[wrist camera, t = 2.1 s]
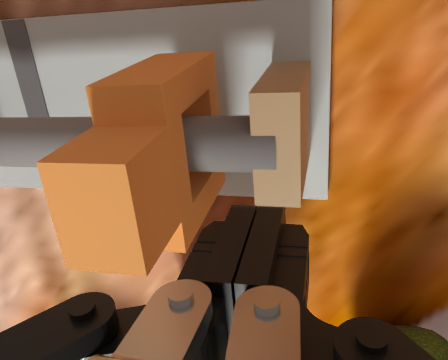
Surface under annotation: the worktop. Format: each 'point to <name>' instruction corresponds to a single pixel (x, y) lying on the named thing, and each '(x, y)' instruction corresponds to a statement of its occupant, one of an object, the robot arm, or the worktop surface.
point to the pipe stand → (192, 125)
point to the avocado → (427, 341)
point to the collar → (134, 167)
